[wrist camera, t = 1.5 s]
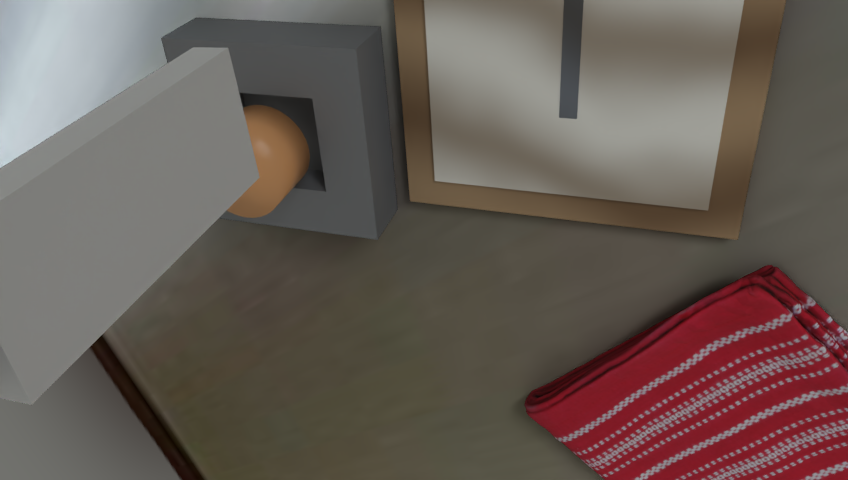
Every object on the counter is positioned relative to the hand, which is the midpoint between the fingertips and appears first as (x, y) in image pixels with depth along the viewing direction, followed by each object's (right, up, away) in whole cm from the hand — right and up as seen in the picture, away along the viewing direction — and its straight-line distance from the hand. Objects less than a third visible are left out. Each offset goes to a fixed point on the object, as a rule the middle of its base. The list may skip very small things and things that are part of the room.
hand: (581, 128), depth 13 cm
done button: (-10, +3, +24) cm, 26 cm away
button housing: (-9, +5, +27) cm, 29 cm away
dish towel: (+17, -14, +31) cm, 38 cm away
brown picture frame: (+4, +8, +20) cm, 21 cm away
